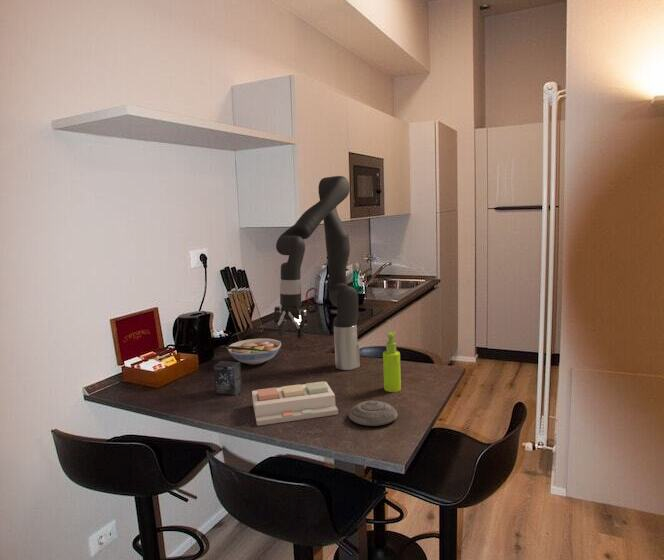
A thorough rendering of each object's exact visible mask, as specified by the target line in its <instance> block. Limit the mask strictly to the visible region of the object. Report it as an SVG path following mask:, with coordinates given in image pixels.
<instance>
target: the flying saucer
mask: <svg viewBox="0 0 664 560" xmlns="http://www.w3.org/2000/svg"><path fill="white" fill-rule="evenodd" d="M347 416H348V418H349V419H350V421H352V422H354V423H355V424H358V425H362V426H369V427H373V426H374V427H375V426H376V427H377V426H383V425H388V424H390V423H392V422H393V421H395V420H396V419H397V418H398V416H399V415H398V412H397V410H396V408H394V406H392V405H391V404H389V403H387V402H384V401H382V400H366V401H365V400H364V401H362V402H359V403H357V404H355V405H353V407H351V409H350V410H349V412H348V415H347Z"/></svg>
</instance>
